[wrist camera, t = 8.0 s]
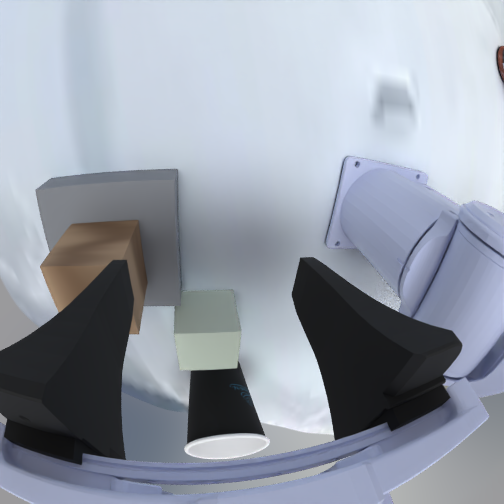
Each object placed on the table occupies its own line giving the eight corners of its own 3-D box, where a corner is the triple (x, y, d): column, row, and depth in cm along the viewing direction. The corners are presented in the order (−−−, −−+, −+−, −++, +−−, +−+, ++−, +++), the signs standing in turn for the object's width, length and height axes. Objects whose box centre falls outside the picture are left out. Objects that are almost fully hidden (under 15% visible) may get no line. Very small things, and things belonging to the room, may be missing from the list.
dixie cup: (172, 372, 29) (176, 457, 20) (190, 332, 26) (197, 435, 17) (233, 381, 32) (248, 458, 23) (260, 344, 29) (286, 434, 20)
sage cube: (232, 289, 24) (241, 331, 20) (229, 327, 26) (237, 368, 22) (175, 290, 23) (174, 333, 19) (179, 328, 25) (179, 370, 21)
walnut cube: (138, 219, 16) (120, 264, 12) (147, 282, 19) (139, 334, 15) (71, 223, 15) (40, 266, 11) (87, 283, 18) (68, 331, 14)
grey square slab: (178, 167, 18) (174, 179, 15) (181, 281, 23) (180, 305, 21) (53, 176, 16) (35, 190, 13) (77, 282, 21) (68, 304, 19)
